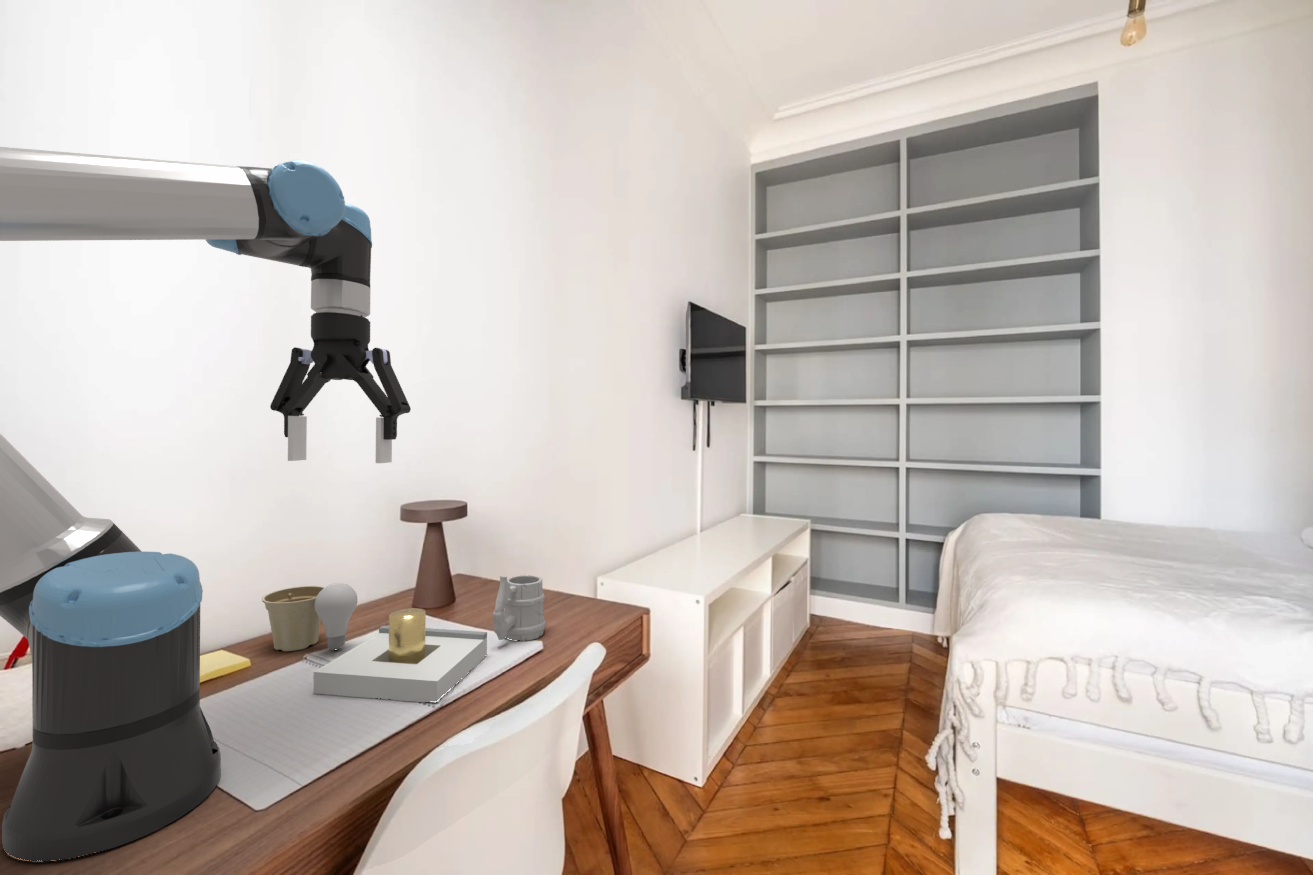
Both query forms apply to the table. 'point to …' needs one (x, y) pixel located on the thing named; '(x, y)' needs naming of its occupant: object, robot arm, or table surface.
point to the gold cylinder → (407, 636)
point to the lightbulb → (336, 612)
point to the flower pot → (293, 617)
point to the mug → (519, 608)
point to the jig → (402, 667)
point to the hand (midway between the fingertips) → (340, 461)
